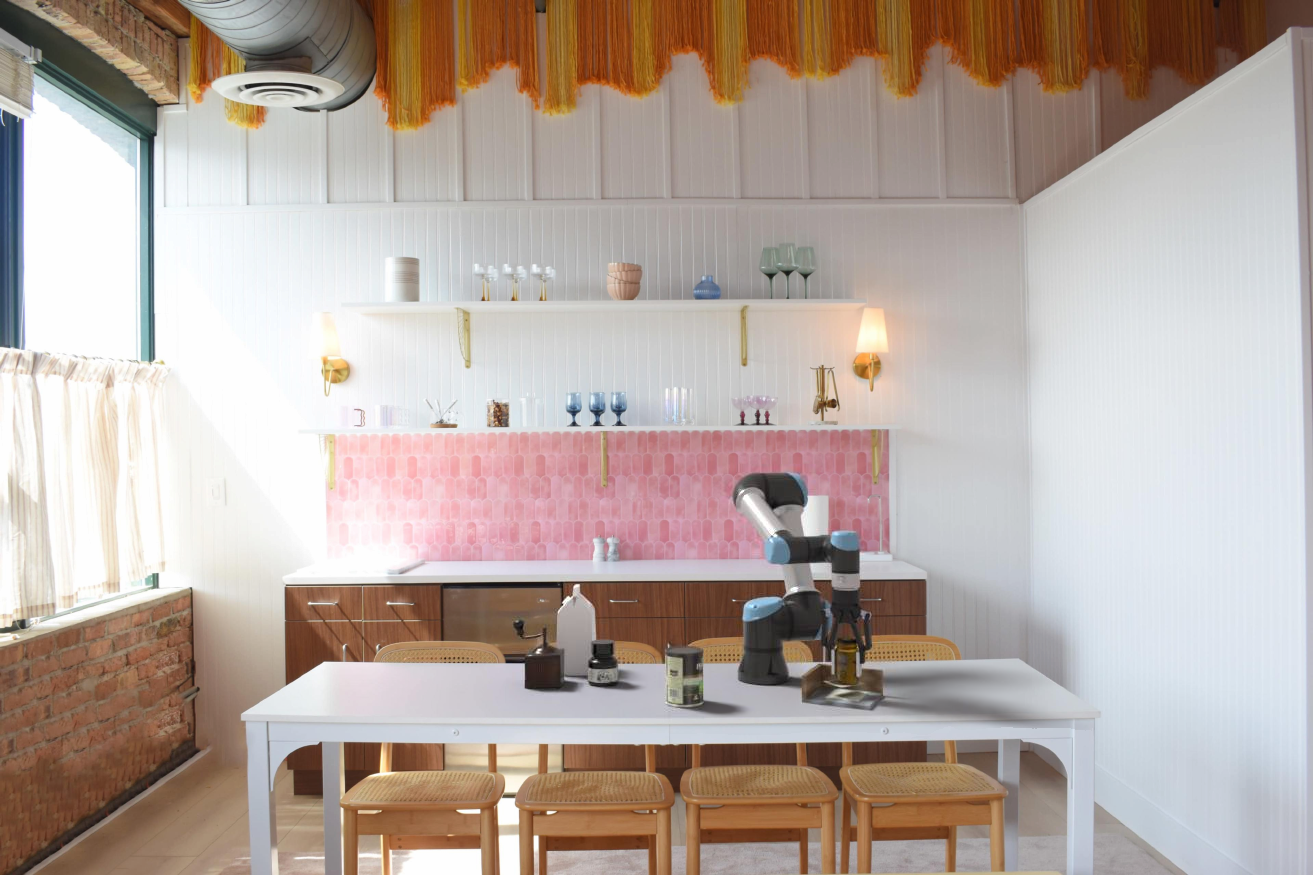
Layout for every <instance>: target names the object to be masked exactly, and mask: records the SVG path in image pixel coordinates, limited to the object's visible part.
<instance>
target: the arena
mask: <svg viewBox="0 0 1313 875" xmlns="http://www.w3.org/2000/svg"><path fill="white" fill-rule="evenodd" d="M830 680H836V674H832V664H828V663H827V664H826V663H817V664H816V665H815V666H813V667H812V668H810V669H809V670H807V671H806V672H804V673H803V674H802V675H801V703H807V704H815V705H822V706H823V705H824V706H833V707H840V708H850V709H857V710H865V711H870V710H871V709H872V708H873V707H874V706H875V705H876V704H877V703H878V702H879V700H881V699H882V697H884V670H883V669H877V668H867V667H862V675H861V676H860V677H859V680H858V682H862V683H865V684H861V685H856V686H847V687H842V688H841V687H838V686H834V685H831V684H829V683H826V682H824V681H830Z"/></svg>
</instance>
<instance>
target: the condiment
mask: <svg viewBox="0 0 1313 875" xmlns="http://www.w3.org/2000/svg"><path fill="white" fill-rule="evenodd" d="M835 648H836V680H830V681H824V682H826V683H829V684H831V685H834V686H838V687H841V688H842V687H847V686H856V685H861V684H865V683H862V682H858V680H859V677H857V676H856V652H857V651H859V649H858V646H857V642H856V639H855V637H851V636H842V637H841V636H840V637H837V638H836V647H835Z"/></svg>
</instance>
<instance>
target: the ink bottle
mask: <svg viewBox="0 0 1313 875" xmlns="http://www.w3.org/2000/svg"><path fill="white" fill-rule="evenodd" d="M615 644H616V643H615V640H613V639H596V640H594V641H592V642H591V652H592V653H591V654H592V655H593V656H592V657H591V658H590V659H589V660H588V676H587V683H588V684H589V685H590V686H595V687H610V686H615V685H616V684H618V683H619V659H618V658H617V657H615V652H616V651H615V650H616V649H615V648H616V645H615Z"/></svg>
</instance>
